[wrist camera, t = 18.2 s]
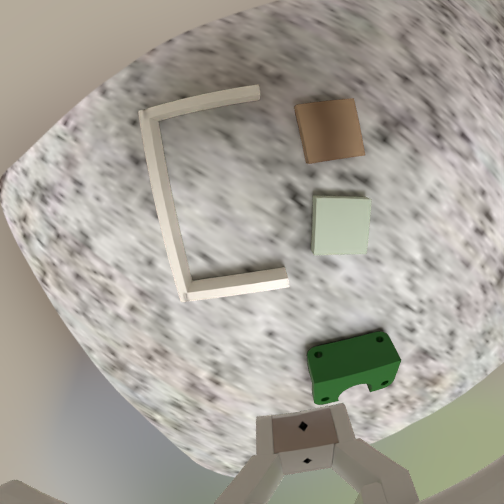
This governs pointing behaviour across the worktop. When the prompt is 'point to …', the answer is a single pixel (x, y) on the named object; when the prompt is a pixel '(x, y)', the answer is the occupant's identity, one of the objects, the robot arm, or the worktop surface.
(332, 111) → the walnut tile
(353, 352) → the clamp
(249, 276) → the white u-shaped frame
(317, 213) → the sage tile
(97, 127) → the worktop surface
